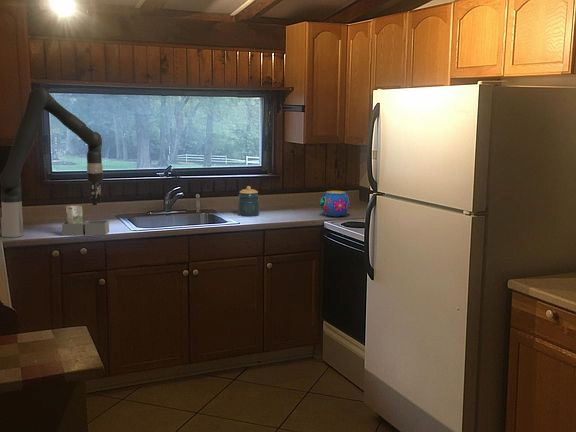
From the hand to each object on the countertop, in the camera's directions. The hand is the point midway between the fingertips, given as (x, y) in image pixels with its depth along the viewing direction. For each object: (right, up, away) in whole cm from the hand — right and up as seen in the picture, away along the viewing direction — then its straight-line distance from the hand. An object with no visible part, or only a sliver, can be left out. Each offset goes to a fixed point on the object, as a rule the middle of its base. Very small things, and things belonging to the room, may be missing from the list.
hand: (96, 203), depth 329 cm
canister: (+73, -6, +67) cm, 99 cm away
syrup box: (-11, -15, +1) cm, 19 cm away
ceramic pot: (+125, -7, +65) cm, 141 cm away
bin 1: (-11, -15, +1) cm, 19 cm away
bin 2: (0, -15, +2) cm, 15 cm away
